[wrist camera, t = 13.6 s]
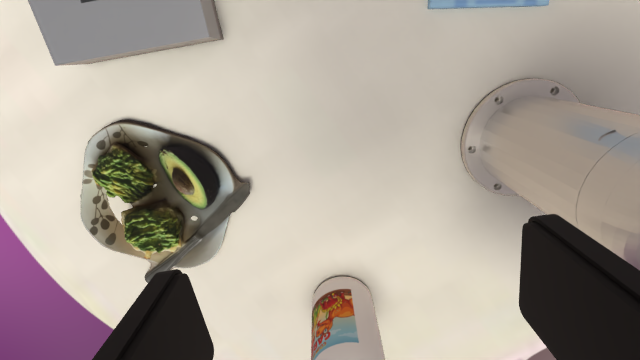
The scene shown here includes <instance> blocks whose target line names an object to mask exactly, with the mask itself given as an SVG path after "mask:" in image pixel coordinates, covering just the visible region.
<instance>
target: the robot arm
mask: <svg viewBox="0 0 640 360" xmlns="http://www.w3.org/2000/svg"><path fill="white" fill-rule="evenodd" d="M496 97H497V100H496V101H495V98H496ZM470 146H471V148H470V149H468V148H469V147H470ZM461 153H462V158H463V162H464V165H465V167H466V170H467V171H468V173H469V174H470V175H471V177H472V178H473V179H474V180H475V181H476V182H477V183H478V184H480V185H481V186H482V187H484V188H485V189H487V190H489V191H491V192H493V193H496V194H501V195H508V196H517V195H520V196H522V197H523V198H524V199H526V200H527V201H529V202H530V203H531V204H533V205H534V206H536V207H537V208H539V209H540V210H541V211H543V212H544V213H546V214H547V215H542V216H535V217H531V218H530V219H529V221H528V223H525V224H524V225H523V229H522V250H521V271H520V292H519V307H520V310H521V313H522V315H523V317H524V318H525V320H526V321H527V322H528V323H529V325H530V326H531V327H532V329H533V330H534V331H535V332H536V334H537V335H538V336H539V338H540V339H541V340H542V341H543V343H544V344H545V345H546V347H547V348H548V349H549V350H550V352H551V353H552V354H553V356H554V357H555V358H556V359H557V360H640V115H637V114H632V113H627V112H621V111H616V110H611V109H606V108H601V107H596V106H591V105H586V104H580V102H579V100H578V98H577V97H576V96H575V95H574V94H573V93H572V92H571V91H570V90H569V89H567V88H566V87H564V86H563V85H561V84H559V83H556V82H553V81H550V80H544V79H523V80H517V81H514V82H511V83H509V84H506V85H504V86H502V87H500V88H498V89H497V90H495V91H493V92H492V93H491V94H489V95H488V96H487V97H486V98H484V99H483V100H482V101H481V103H480V104H479V105H478V106H477V107H476V108H475V110H474V111H473V113H472V114H471V116H470V117H469V119H468V121H467V124H466V126H465V128H464V132H463V136H462V143H461ZM213 355H214V347H213V343H212V340H211V337H210V335H209V332H208V329H207V326H206V324H205V321H204V318H203V315H202V313H201V310H200V307H199V304H198V302H197V299H196V296H195V293H194V291H193V288H192V285H191V282H190V280H189V277H188V275H187V274H185V273H184V274H182V272H181V271H180V270H178V269H176V270H169V271H162V272H158V273H156V274H155V275H154V276H153V278H152V279H151V280H150V282H149V283H148V284H147V286H146V287H145V288H144V290H143V291H142V293H141V294H140V295H139V297H138V298H137V299H136V301H135V302H134V303H133V305H132V306H131V307H130V309H129V310H128V312H127V313H126V314H125V316H124V317H123V318H122V320H121V321H120V322H119V324H118V325H117V326H116V328H115V329H114V331H113V332H112V334H111V335H110V336H109V337H108V339H107V340H106V342H105V343H104V344H103V346H102V347H101V348H100V350H99V351H98V352H97V354H96V355H95V356H94V358H93V359H92V360H213Z"/></svg>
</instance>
